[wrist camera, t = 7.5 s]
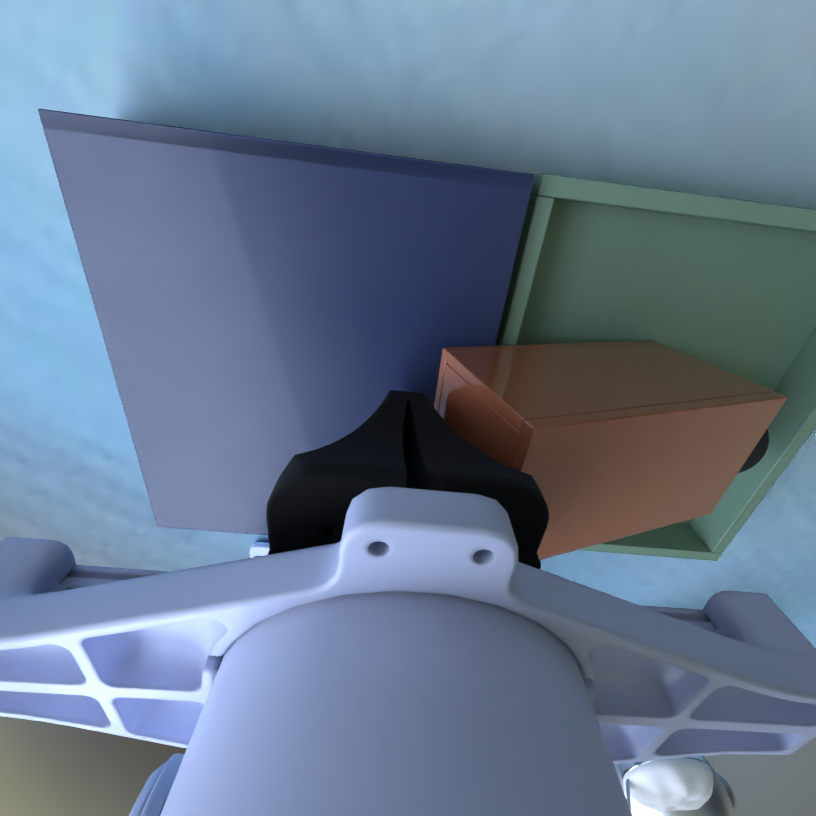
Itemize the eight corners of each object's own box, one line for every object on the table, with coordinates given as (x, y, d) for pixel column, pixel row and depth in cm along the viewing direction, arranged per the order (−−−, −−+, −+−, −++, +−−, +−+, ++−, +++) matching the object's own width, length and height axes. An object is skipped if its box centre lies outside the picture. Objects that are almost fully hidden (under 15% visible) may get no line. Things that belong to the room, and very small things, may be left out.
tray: (687, 526, 23) (716, 561, 21) (449, 505, 22) (453, 540, 20) (881, 224, 15) (964, 229, 13) (521, 176, 14) (542, 173, 12)
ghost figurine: (613, 758, 38) (673, 925, 30) (569, 723, 35) (623, 901, 26) (705, 732, 36) (802, 907, 27) (668, 691, 32) (766, 879, 23)
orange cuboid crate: (423, 467, 16) (488, 574, 12) (442, 346, 13) (533, 428, 9) (609, 439, 19) (711, 514, 15) (652, 339, 17) (789, 396, 12)
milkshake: (568, 611, 27) (647, 815, 18) (644, 614, 27) (758, 817, 18) (552, 648, 29) (614, 845, 20) (622, 651, 29) (714, 848, 20)
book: (442, 503, 22) (447, 549, 19) (190, 482, 21) (157, 526, 18) (510, 177, 14) (535, 174, 11) (114, 126, 13) (37, 108, 11)
